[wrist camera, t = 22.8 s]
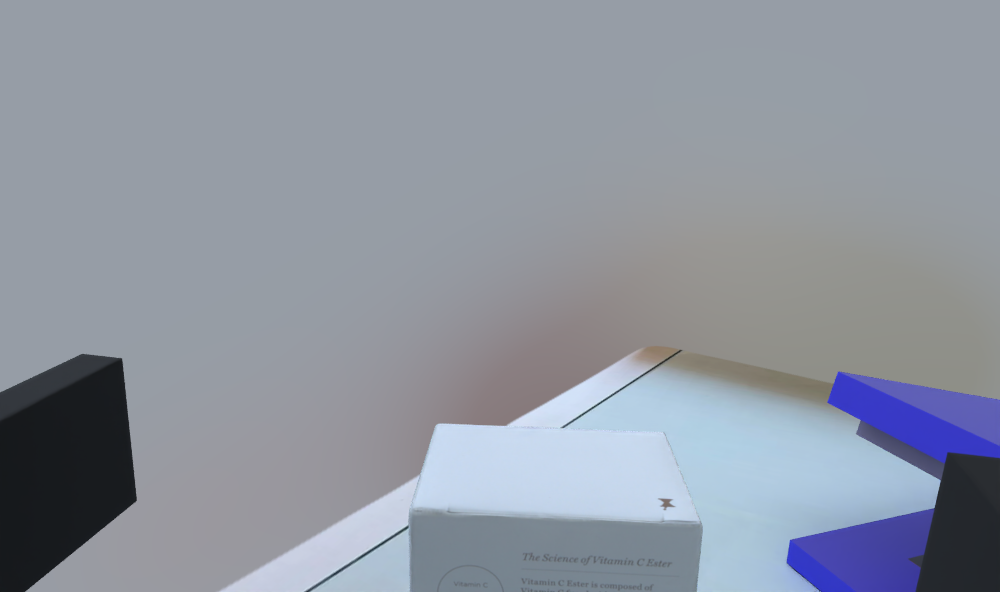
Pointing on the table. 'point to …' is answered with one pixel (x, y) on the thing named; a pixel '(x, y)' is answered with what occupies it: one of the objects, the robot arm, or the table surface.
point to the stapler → (921, 442)
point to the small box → (551, 513)
